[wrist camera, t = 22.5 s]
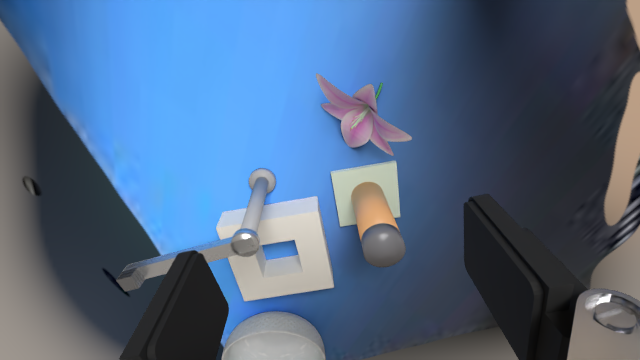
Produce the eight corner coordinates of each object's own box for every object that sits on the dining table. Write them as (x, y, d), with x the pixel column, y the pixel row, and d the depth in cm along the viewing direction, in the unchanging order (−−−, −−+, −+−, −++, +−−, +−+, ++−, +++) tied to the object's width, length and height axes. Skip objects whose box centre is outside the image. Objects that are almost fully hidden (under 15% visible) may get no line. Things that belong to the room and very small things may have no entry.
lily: (314, 48, 38) (287, 95, 33) (417, 33, 34) (406, 85, 28) (338, 126, 47) (320, 175, 41) (423, 123, 42) (416, 177, 36)
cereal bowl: (231, 356, 62) (223, 395, 55) (228, 293, 54) (217, 329, 48) (319, 358, 63) (321, 396, 57) (328, 297, 55) (330, 333, 49)
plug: (382, 179, 45) (404, 231, 34) (384, 207, 47) (406, 264, 36) (349, 184, 45) (361, 237, 34) (353, 211, 47) (365, 269, 36)
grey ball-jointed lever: (254, 225, 32) (250, 238, 30) (264, 246, 33) (261, 261, 31) (124, 260, 33) (112, 275, 31) (138, 279, 35) (128, 295, 33)
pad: (395, 160, 44) (396, 162, 44) (399, 214, 48) (400, 216, 48) (330, 171, 45) (330, 173, 44) (339, 224, 49) (340, 226, 48)
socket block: (309, 159, 44) (310, 212, 32) (332, 269, 53) (339, 341, 41) (209, 177, 44) (174, 234, 33) (248, 282, 53) (232, 357, 41)
